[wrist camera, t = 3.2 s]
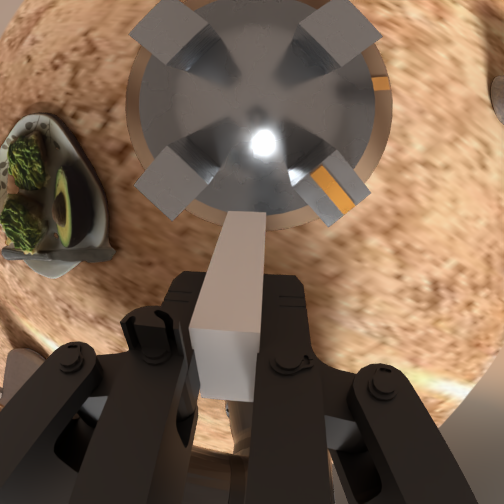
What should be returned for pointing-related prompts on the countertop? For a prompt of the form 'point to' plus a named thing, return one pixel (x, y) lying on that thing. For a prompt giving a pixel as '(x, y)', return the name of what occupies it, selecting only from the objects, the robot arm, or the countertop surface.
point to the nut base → (305, 213)
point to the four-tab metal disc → (256, 106)
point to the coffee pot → (18, 371)
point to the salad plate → (51, 199)
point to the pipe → (498, 97)
